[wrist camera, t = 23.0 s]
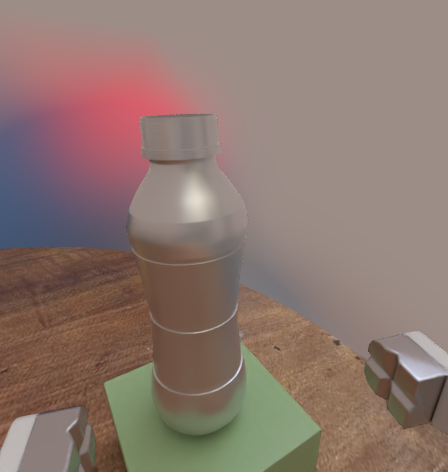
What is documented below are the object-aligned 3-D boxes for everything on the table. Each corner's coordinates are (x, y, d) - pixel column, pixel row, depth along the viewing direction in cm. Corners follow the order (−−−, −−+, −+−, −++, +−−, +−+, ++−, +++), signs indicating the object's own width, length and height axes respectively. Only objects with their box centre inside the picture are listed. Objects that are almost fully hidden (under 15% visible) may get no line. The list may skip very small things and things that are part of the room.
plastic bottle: (152, 382, 25) (107, 116, 17) (232, 362, 27) (226, 111, 18) (160, 465, 19) (97, 123, 11) (261, 433, 21) (270, 115, 13)
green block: (231, 380, 33) (229, 328, 31) (313, 489, 24) (322, 429, 21) (117, 438, 28) (103, 382, 25) (165, 611, 18) (150, 552, 16)
